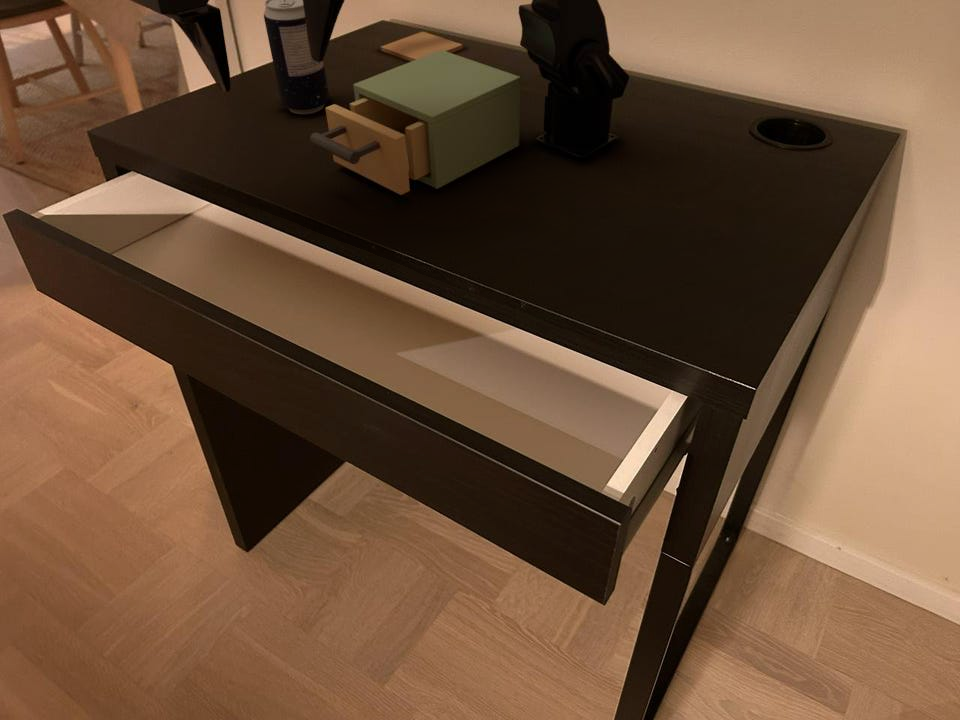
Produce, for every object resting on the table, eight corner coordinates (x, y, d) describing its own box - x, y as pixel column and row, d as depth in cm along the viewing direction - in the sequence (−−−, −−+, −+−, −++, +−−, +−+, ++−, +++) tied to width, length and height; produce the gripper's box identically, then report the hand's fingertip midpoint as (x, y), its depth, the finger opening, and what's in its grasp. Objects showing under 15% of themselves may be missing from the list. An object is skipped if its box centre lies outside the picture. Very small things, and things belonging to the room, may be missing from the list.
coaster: (462, 48, 103) (462, 44, 103) (420, 65, 99) (420, 61, 98) (423, 35, 107) (422, 31, 107) (380, 51, 103) (380, 46, 103)
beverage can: (335, 97, 92) (319, -7, 84) (323, 117, 87) (305, 9, 79) (290, 96, 92) (270, -8, 84) (276, 116, 88) (254, 8, 80)
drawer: (371, 210, 70) (363, 153, 66) (304, 174, 76) (293, 120, 72) (482, 153, 78) (481, 99, 74) (414, 124, 84) (410, 73, 80)
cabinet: (436, 189, 75) (432, 116, 70) (361, 153, 81) (352, 84, 76) (519, 145, 82) (520, 76, 76) (444, 115, 87) (441, 49, 82)
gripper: (278, -172, 61) (306, 26, 72) (50, -148, 51) (121, 79, 62) (365, -157, 56) (382, 56, 66) (128, -127, 46) (192, 119, 56)
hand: (273, 74), depth 63 cm, fingers open, 9 cm apart
